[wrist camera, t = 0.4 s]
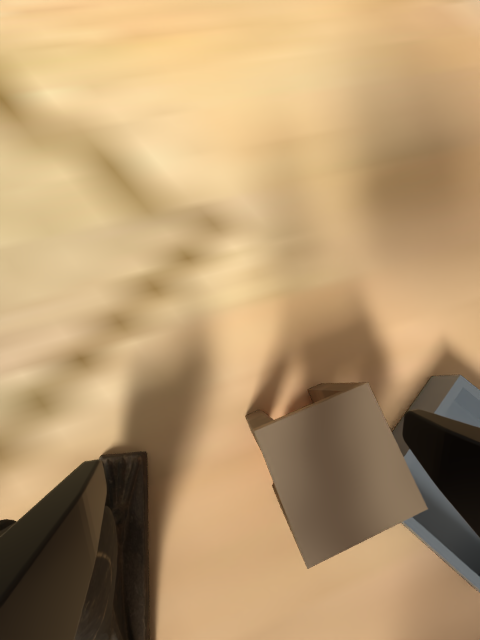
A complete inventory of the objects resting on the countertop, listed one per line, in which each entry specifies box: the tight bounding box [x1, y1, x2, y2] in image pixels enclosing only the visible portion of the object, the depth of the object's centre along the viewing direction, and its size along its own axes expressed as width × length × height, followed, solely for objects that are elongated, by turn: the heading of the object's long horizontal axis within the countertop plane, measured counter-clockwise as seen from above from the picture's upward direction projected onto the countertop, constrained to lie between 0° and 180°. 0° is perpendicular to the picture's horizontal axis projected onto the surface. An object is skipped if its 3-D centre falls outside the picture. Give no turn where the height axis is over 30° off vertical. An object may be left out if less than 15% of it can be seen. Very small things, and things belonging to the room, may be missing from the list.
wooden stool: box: [245, 382, 428, 569], centre depth 19 cm, size 6×6×8 cm
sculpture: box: [0, 452, 149, 640], centre depth 14 cm, size 6×13×13 cm, turn 4°
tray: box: [392, 375, 480, 593], centre depth 21 cm, size 10×10×3 cm
